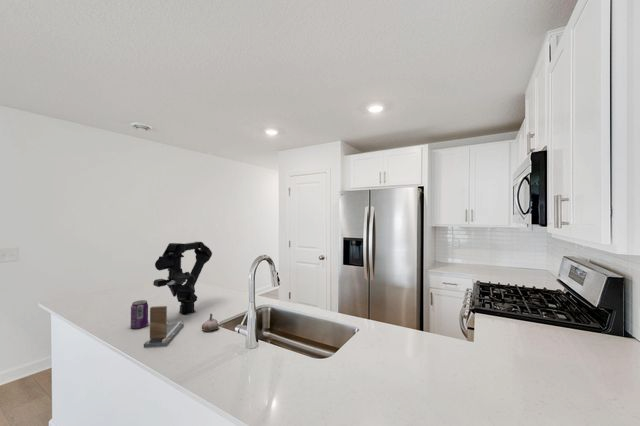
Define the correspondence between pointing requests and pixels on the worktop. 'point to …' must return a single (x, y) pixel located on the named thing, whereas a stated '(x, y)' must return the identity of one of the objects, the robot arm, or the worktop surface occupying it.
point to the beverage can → (139, 314)
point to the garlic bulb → (210, 324)
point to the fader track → (171, 333)
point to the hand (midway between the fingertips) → (174, 296)
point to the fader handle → (158, 323)
